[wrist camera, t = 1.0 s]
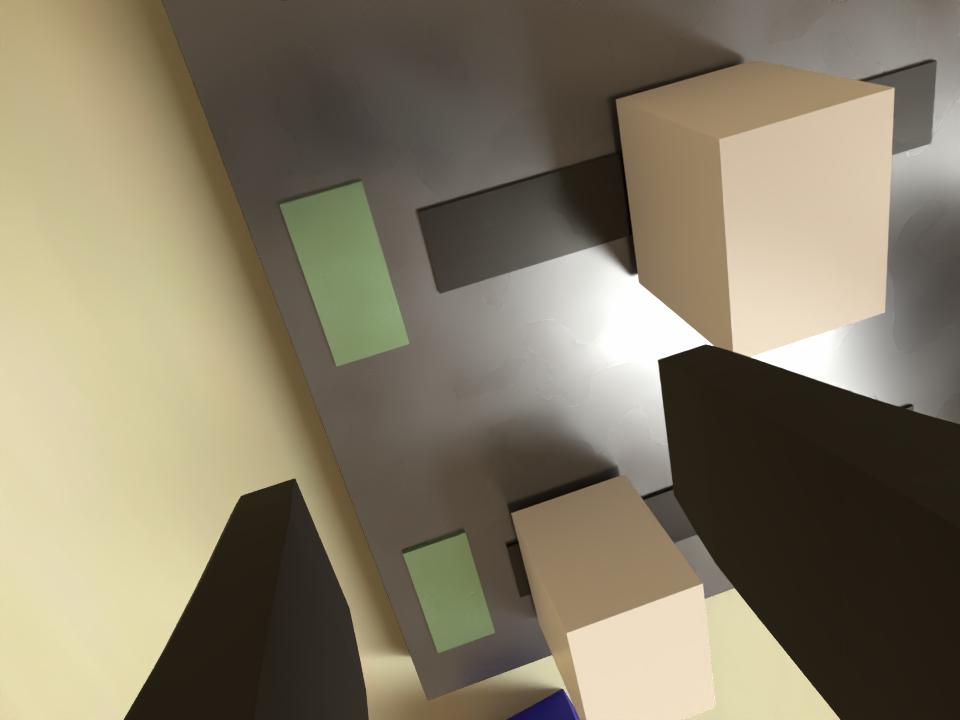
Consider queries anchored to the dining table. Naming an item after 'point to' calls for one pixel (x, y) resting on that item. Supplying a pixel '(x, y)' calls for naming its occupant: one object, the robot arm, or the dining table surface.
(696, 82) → the breaker
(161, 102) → the dining table surface
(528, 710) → the cable clip
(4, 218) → the dining table surface
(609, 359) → the breaker panel
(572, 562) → the on breaker
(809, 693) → the dining table surface
